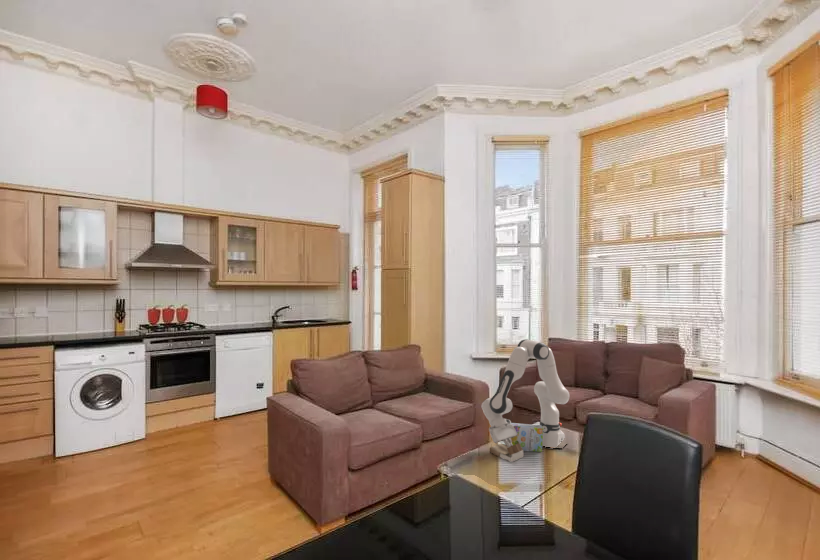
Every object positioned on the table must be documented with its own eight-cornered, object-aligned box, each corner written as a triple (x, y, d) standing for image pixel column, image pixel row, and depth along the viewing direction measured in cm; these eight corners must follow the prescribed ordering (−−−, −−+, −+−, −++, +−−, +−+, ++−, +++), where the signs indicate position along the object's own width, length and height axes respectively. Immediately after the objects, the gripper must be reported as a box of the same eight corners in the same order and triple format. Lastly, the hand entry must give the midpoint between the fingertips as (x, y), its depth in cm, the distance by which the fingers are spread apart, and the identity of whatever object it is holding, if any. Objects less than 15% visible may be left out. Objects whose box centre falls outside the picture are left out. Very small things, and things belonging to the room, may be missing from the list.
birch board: (501, 448, 254) (501, 443, 254) (516, 454, 246) (516, 449, 246) (489, 452, 246) (489, 447, 246) (504, 458, 238) (504, 453, 238)
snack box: (539, 448, 256) (541, 424, 256) (542, 452, 251) (543, 428, 250) (505, 445, 258) (506, 421, 257) (506, 449, 252) (508, 425, 252)
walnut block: (510, 446, 244) (519, 443, 240) (514, 453, 242) (522, 449, 238) (506, 448, 241) (515, 444, 237) (510, 455, 240) (518, 451, 236)
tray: (511, 452, 248) (512, 445, 248) (523, 457, 242) (523, 450, 242) (499, 456, 240) (500, 450, 240) (511, 461, 234) (511, 454, 234)
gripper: (491, 425, 241) (503, 447, 233) (511, 419, 254) (524, 440, 247) (484, 430, 244) (496, 452, 237) (505, 424, 257) (517, 445, 250)
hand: (510, 446), depth 242 cm, fingers closed, pressing on walnut block
